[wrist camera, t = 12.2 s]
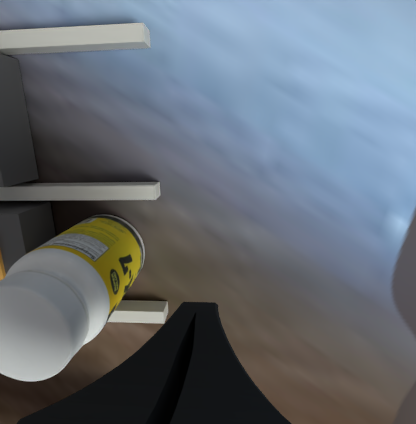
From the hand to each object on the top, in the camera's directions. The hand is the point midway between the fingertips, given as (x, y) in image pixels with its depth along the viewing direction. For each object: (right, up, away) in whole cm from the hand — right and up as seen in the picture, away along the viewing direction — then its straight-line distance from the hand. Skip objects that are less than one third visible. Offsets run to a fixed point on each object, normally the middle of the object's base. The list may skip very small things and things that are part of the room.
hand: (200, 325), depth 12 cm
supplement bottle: (-6, +2, +8) cm, 10 cm away
